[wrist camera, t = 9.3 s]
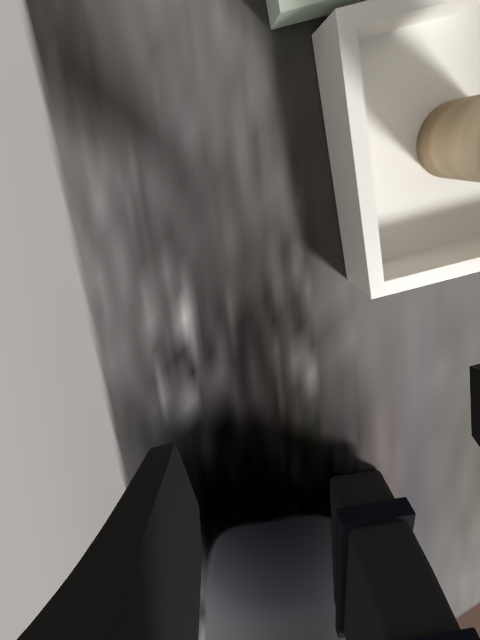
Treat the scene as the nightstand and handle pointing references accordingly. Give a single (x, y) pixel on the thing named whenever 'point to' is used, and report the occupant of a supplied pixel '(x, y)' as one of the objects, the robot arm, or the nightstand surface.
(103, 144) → the nightstand surface
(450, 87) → the tray
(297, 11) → the holder
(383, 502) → the magazine
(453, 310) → the nightstand surface
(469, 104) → the dowel
